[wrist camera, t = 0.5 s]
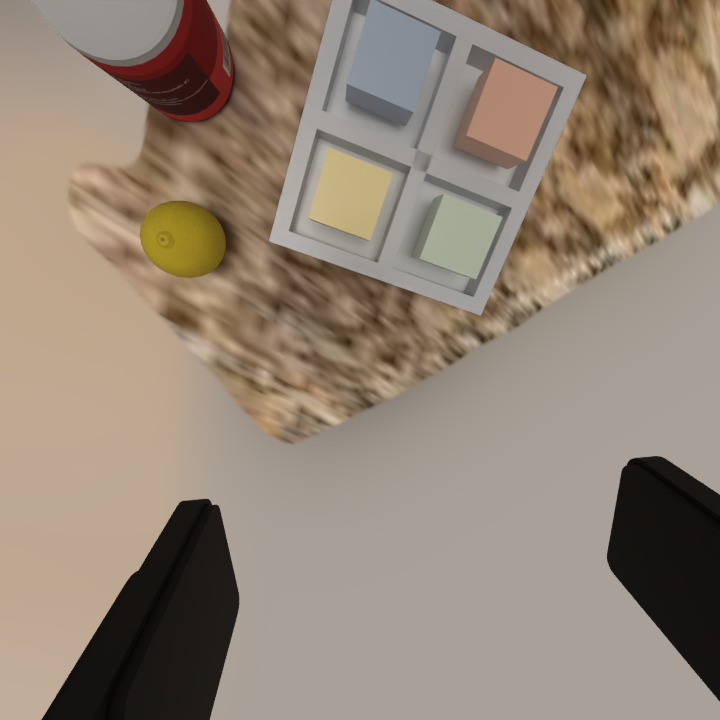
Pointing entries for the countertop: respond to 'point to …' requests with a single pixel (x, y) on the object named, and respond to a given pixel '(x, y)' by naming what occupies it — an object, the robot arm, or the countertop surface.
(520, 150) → the key terracotta
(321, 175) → the key mustard
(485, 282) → the keypad
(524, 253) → the countertop surface
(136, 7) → the canned food
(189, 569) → the robot arm
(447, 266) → the key sage
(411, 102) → the key slate
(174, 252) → the lemon
